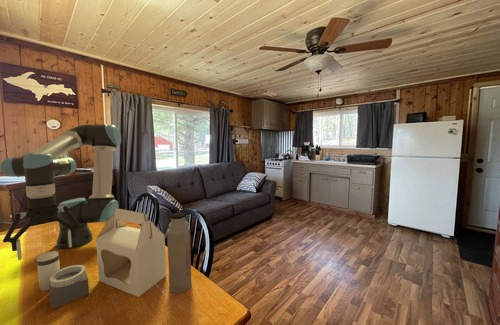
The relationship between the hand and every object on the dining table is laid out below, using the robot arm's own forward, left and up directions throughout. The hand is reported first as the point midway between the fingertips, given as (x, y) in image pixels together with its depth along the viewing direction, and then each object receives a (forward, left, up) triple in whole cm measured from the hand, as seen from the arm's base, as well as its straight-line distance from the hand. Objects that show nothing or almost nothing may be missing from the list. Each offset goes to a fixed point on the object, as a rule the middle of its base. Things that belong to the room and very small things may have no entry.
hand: (46, 252), depth 80 cm
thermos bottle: (+34, +36, -14) cm, 51 cm away
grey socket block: (+11, +5, -14) cm, 18 cm away
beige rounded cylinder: (0, 0, -14) cm, 14 cm away
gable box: (+17, +24, -14) cm, 33 cm away
